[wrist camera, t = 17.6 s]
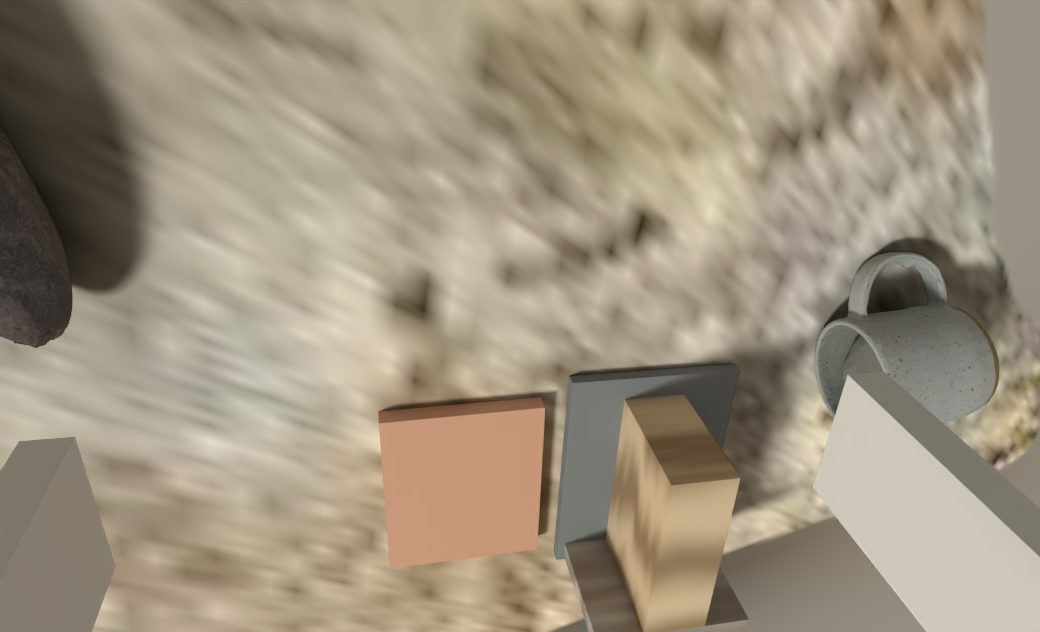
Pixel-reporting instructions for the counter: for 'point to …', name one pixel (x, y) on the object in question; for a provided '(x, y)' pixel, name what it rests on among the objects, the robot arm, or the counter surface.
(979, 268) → the counter surface
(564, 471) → the slate mat
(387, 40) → the counter surface
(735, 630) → the tan rectangular block
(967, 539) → the robot arm
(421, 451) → the terracotta tile
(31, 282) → the perforated stone tool
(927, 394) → the ceramic mug
